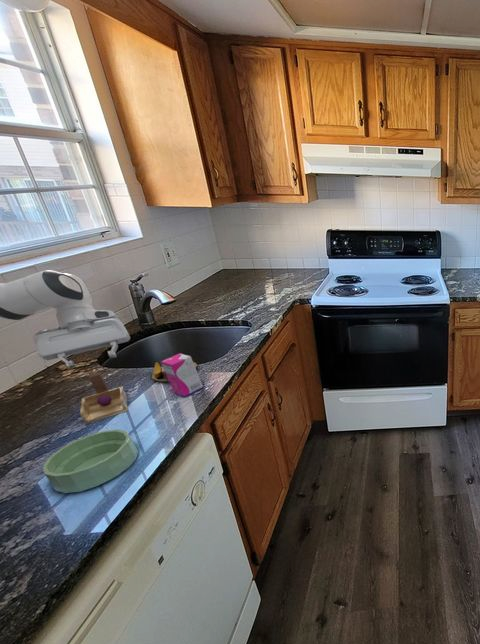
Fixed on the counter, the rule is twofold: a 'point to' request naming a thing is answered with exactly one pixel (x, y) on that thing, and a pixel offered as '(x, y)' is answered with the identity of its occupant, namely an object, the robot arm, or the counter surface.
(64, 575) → the counter surface
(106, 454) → the bowl
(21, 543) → the counter surface
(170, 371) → the supplement box
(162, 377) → the toy sandwich meal
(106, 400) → the ball
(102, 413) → the scoop
